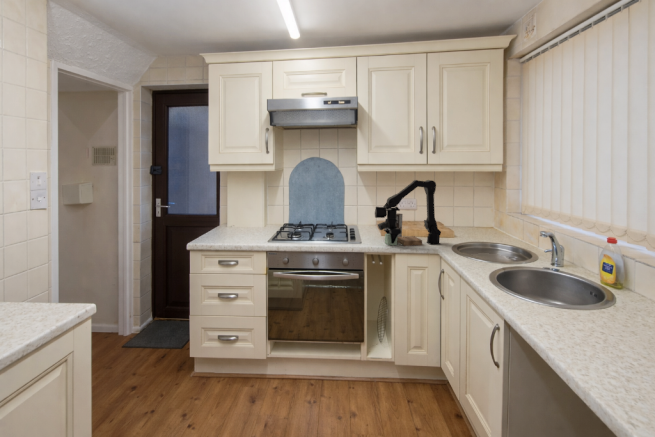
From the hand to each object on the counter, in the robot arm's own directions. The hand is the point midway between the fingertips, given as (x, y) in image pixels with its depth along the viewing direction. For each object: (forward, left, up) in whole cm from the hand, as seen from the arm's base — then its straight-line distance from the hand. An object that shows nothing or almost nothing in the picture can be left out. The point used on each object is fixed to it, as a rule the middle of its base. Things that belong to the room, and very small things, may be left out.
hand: (390, 242), depth 223 cm
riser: (-12, 0, -1) cm, 12 cm away
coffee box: (-9, -19, -1) cm, 21 cm away
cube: (0, 0, -1) cm, 1 cm away
